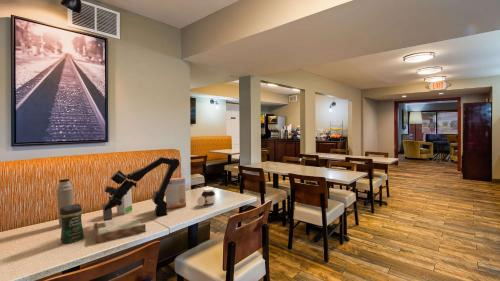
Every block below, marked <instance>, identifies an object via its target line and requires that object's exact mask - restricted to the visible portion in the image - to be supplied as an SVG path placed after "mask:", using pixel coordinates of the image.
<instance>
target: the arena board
mask: <svg viewBox="0 0 500 281" xmlns="http://www.w3.org/2000/svg"><path fill="white" fill-rule="evenodd" d="M138 225H142V221H141V220H140V219H138V220H133V221H128V222H124V223H119V224H118V223H117V224H115V225H109V226H104V227H100V228H99V227H98V234H101V233H105V232H110V231H115V230H119V229H124V228H129V227H133V226H138ZM146 232H147V231H143V233H146ZM140 234H142V232H141V233H140ZM134 235H138V234H137V233H136V234H135V233H134ZM96 244H99V243H98V242H97V243H96Z"/></svg>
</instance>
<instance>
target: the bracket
mask: <svg viewBox="0 0 500 281" xmlns="http://www.w3.org/2000/svg"><path fill="white" fill-rule="evenodd" d="M106 206H107V203H102V218H103V220H102V221H103V222H107V221H112V220H113V210H112V209H113V207H112V208H110V209H108V210H106V211H105V210H104V209H105V207H106Z"/></svg>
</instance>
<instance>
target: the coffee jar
mask: <svg viewBox="0 0 500 281" xmlns="http://www.w3.org/2000/svg"><path fill="white" fill-rule="evenodd" d="M82 214H83V207H82V205H81V204H80V203H74V205H70V206H65V207H61V208H60V217H61V219H62V227H61V231H60V242H61V243H63V244H70V243H74V242H76V241H79V240H82V239H83V238H84V237H85V235H84V229H83V228H84V227H83V222H82Z"/></svg>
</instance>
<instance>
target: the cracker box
mask: <svg viewBox="0 0 500 281" xmlns="http://www.w3.org/2000/svg"><path fill="white" fill-rule="evenodd" d="M186 192H187V191H186V178H185V177H175V178H174V177H173V178H172V177H171V179H170V181H169V184H168V186H167V188H166V190H165V202H166V203H167V205H166V207H167V210H168V209H176V208H183V207H187V197H186V196H187V194H186Z"/></svg>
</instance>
